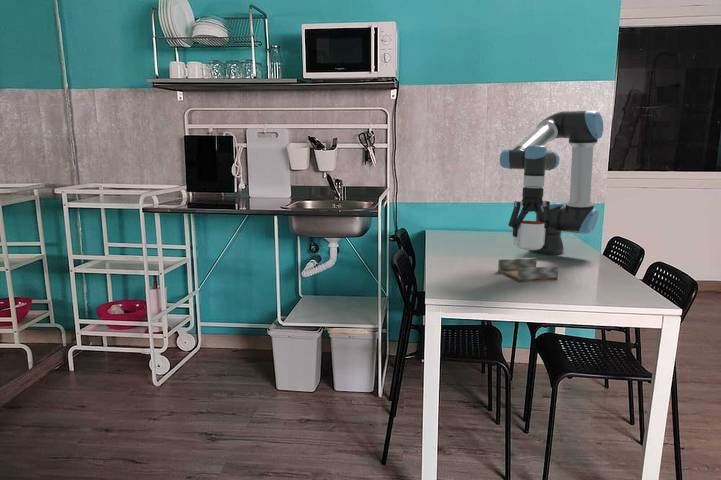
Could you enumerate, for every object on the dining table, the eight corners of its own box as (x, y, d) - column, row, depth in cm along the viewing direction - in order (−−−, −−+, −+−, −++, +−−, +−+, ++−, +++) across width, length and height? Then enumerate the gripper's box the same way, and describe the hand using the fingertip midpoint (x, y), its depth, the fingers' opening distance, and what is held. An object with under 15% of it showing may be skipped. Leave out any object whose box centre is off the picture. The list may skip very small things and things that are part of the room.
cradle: (533, 269, 218) (534, 257, 217) (557, 279, 202) (558, 267, 201) (497, 271, 214) (498, 259, 213) (519, 282, 199) (520, 268, 198)
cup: (542, 246, 209) (544, 221, 208) (542, 251, 200) (544, 225, 198) (516, 244, 213) (517, 219, 211) (514, 249, 203) (516, 223, 201)
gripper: (554, 186, 208) (549, 242, 212) (501, 186, 203) (497, 243, 207) (565, 187, 201) (560, 245, 205) (511, 188, 196) (507, 247, 200)
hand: (529, 244), depth 206 cm, fingers closed on cup, 10 cm apart
